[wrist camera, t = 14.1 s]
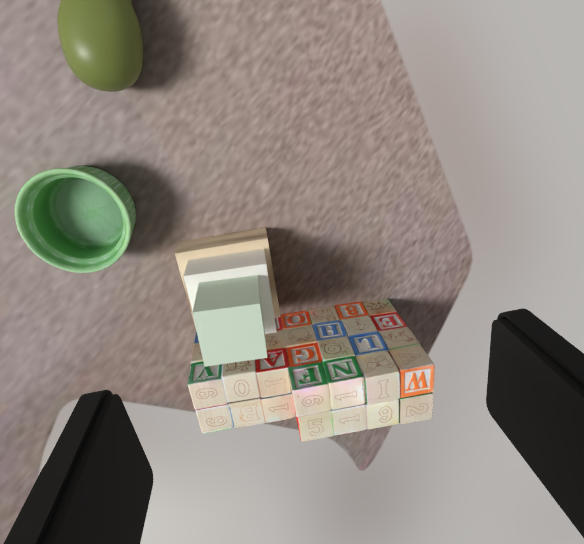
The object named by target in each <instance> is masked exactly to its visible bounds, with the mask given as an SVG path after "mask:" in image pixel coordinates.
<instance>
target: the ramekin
mask: <svg viewBox="0 0 584 544" xmlns="http://www.w3.org/2000/svg"><path fill="white" fill-rule="evenodd" d="M15 219H16V224H17V227H18V230H19V233H20V235H21V237H22V238H23V240H24V242H25V243H26V244H27V246H28V247H29V248H30V249H31V250H32V251H33V252H34V253H35V254H36V255H37V256H38V257H40V258H41V259H42V260H44V261H45V262H47V263H49V264H51V265H53V266H55V267H57V268H60V269H63V270H66V271H71V272H78V273H89V272H96V271H100V270H102V269H105V268H107V267H109V266H111V265H112V264H114V263H115V262H116V261H117V260H118V259H119V258H120V257H121V256H122V255H123V254H124V252H125V250H126V249H127V247H128V244H129V242H130V238H131V234H132V232H133V229H134V226H135V221H136V210H135V205H134V202H133V199H132V197H131V195H130V193H129V192H128V190H127V189H126V187H125V186H124V185H123V184H122V183H121V182H120V181H119V180H118V179H116V178H115V177H114V176H112V175H111V174H109V173H107V172H105V171H103V170H100V169H97V168H94V167H88V166H76V167H69V168H56V169H50V170H46V171H43V172H41V173H39V174H37V175H35V176H34V177H32V178H31V179H30V180H28V181H27V182H26V183H25V185H24V186H23V187H22V189H21V190H20V192H19V194H18V197H17V199H16V204H15Z"/></svg>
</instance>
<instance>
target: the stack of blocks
mask: <svg viewBox="0 0 584 544" xmlns="http://www.w3.org/2000/svg"><path fill="white" fill-rule="evenodd" d="M275 324H276V331H277V332H276V333H269V334H265V338H266V348H267V358H262V359H255V360H248V361H241V362H234V363H227V364H220V365H213V366H206V367H204V362H203V358H202V353H201V349H200V344H199V340H198V335H197V331H196V336H195V341H194V346H193V351H192V357H191V366H190V373H189V379H188V387H189V391H190V394H191V398H192V401H193V405H194V409H196V414H197V417H198V421H199V424H200V427H201V431H202V433H203V434H204V433H209V432H215V431H220V430H226V429H231V428H233V427H234V428H240V427H245V426H251V425H256V424H262V423H265V422H266V423H268V422H274V421H280V420H284V419H290V418H293V417H295V416H296V418H297V423H298V428H299V433H300V439H301V441H302V442H303V441H310V440H315V439H320V438H326V437H331V436H334V435H340V434H346V433H351V432H356V431H361V430H365V429H374V428H378V427H385V426H390V425H395V424H398V423H401V424H404V423H410V422H415V421H421V420H427V419H431V418H432V408H433V396H434V395H433V389H434V368H435V366H434V363H433V362H432V360H431V359H430V358H429V356H428V355H427V353H426V352H425V351H424V349H423V348H422V347H421V344H420V342H419V341H418V340H417V339H416V337H415V336H414V334H413V333H412V331H411V330H410V329H409V328H408V327H407V325H406V324H405V322H404V321H403V320H402V318H401V317H400V316H399V314H398V313H397V312H396V310H395V308H394V307H393V305H392V304H391V302H390V301H389V300H388V299H380V300H373V301H366V302H355V303H348V304H342V305H335V306H327V307H321V308H314V309H309V310H307V311H301V312H295V313H288V314H282V315H281V317H276V318H275Z"/></svg>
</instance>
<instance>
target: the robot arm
mask: <svg viewBox="0 0 584 544" xmlns="http://www.w3.org/2000/svg"><path fill="white" fill-rule="evenodd" d="M486 403H487V407H488V410H489V412H490V414H491V416H492V417H493V418H494V420H495V421H496V422H497V424H498V425H499V427H500V428H501V429H502V430H503V432H504V433H505V434H506V436H507V437H508V438H509V440H510V441H511V442H512V444H513V445H514V446H515V448H516V449H517V450H518V452H519V453H520V454H521V456H522V457H523V458H524V460H525V461H526V462H527V463H528V465H529V466H530V468H531V469H532V470H533V471H534V473H535V474H536V475H537V477H538V478H539V479H540V481H541V482H542V483H543V485H544V486H545V487H546V488H547V490H548V491H549V493H550V494H551V495H552V496H553V498H554V499H555V501H556V502H557V503H558V505H559V506H560V507H561V508H562V510H563V511H564V512H565V514H566V515H567V516H568V517H569V519H570V520H571V522H572V523H573V524H574V526H575V527H576V528H577V530H578V531H579V532H580V533H581V535H582V536H583V537H584V354H583V353H582V352H581V351H579V350H578V349H577V348H576V347H574V346H573V345H572V344H570V343H569V342H568V341H567V340H565V339H564V338H563V337H562V336H560V335H559V334H558V333H557V332H555V331H554V330H553V329H551V328H550V327H549V326H548V325H546V324H545V323H544V322H543V321H541V320H540V319H539V318H537V317H536V316H535V315H534V314H532V313H531V312H530V311H528V310H526V309H518V310H513V311H508V312H503V313H500V314H499V316H498V318H497V320H494V321H493V323H492V332H491V344H490V358H489V371H488V384H487V397H486ZM152 486H153V473H152V469H151V466H150V464H149V462H148V459H147V457H146V455H145V453H144V450H143V448H142V446H141V443H140V441H139V439H138V437H137V434H136V432H135V430H134V427H133V425H132V423H131V421H130V418H129V416H128V414H127V411H126V409H125V407H124V405H123V402H122V400H121V398H120V396H119V395H118V394H114V395H113V394H112V393H111V392H110V391H109V390H103V391H98V392H93V393H88V394H84V395H82V396H81V397H80V399H79V400H78V402H77V404H76V406H75V408H74V410H73V412H72V414H71V416H70V418H69V420H68V422H67V424H66V426H65V428H64V430H63V432H62V434H61V435H60V437H59V439H58V441H57V443H56V445H55V447H54V449H53V451H52V453H51V455H50V457H49V459H48V461H47V463H46V464H45V466H44V467H43V469H42V470H41V472H40V474H39V476H38V478H37V480H36V482H35V484H34V486H33V488H32V490H31V492H30V494H29V496H28V498H27V500H26V502H25V503H24V505H23V507H22V509H21V511H20V513H19V515H18V517H17V519H16V521H15V523H14V525H13V527H12V529H11V531H10V533H9V535H8V536H7V538H6V540H5V542H4V544H140V541H141V536H142V531H143V527H144V522H145V518H146V513H147V509H148V504H149V500H150V495H151V491H152Z"/></svg>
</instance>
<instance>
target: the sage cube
mask: <svg viewBox="0 0 584 544" xmlns="http://www.w3.org/2000/svg"><path fill="white" fill-rule="evenodd" d="M192 313H193V317H194V322H195V326H196V331H197V335H198V340H199V344H200V349H201V353H202V358H203V362H204V367H206V366H213V365H220V364H227V363H234V362H241V361H248V360H255V359H262V358H267V348H266V338H265V328H264V319H263V312H262V305H261V297H260V290H259V283H258V275H253V276H246V277H238V278H230V279H222V280H214V281H206V282H199V284H198V288H197V293H196V298H195V303H194V307H193V312H192Z"/></svg>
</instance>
